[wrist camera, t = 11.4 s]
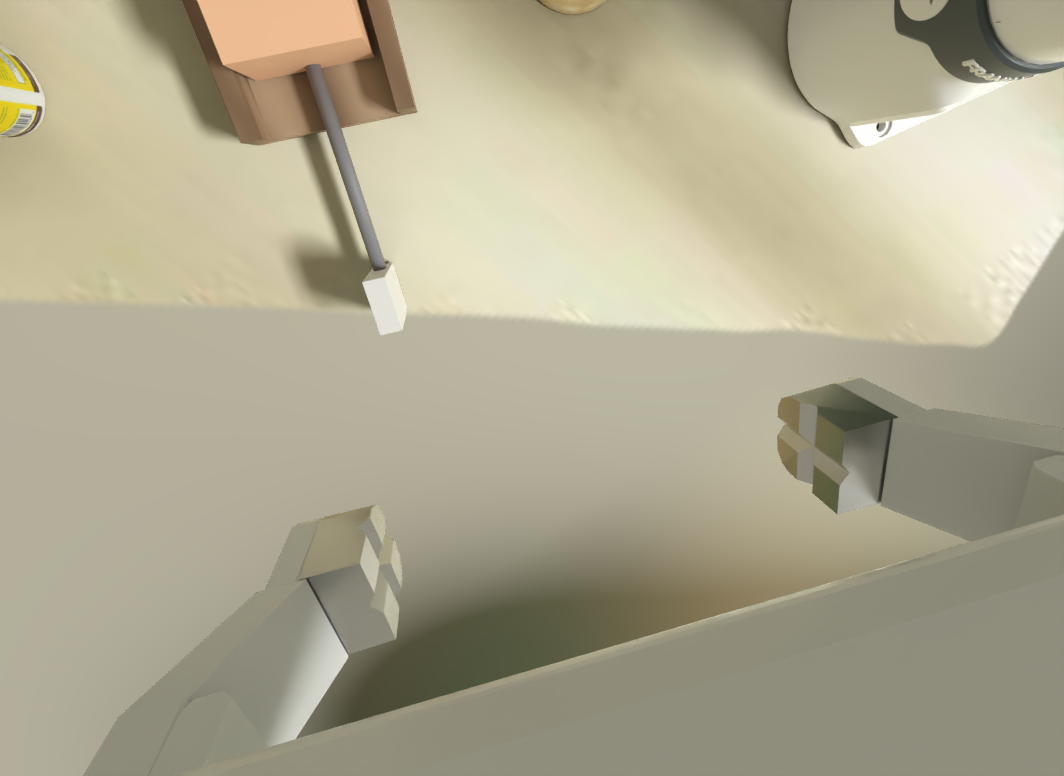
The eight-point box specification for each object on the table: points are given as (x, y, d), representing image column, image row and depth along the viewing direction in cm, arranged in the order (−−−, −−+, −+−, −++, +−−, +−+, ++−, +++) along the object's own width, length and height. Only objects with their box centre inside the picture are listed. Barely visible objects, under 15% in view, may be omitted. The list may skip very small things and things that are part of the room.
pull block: (345, -50, 31) (323, -100, 26) (444, 300, 42) (444, 321, 36) (220, -26, 31) (168, -72, 25) (351, 322, 41) (336, 348, 35)
